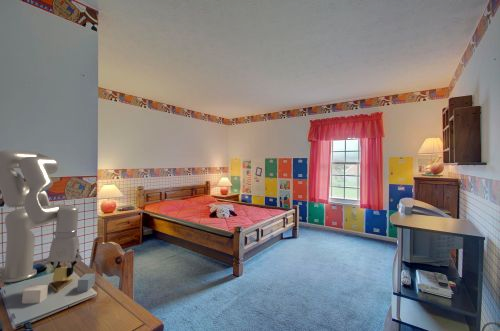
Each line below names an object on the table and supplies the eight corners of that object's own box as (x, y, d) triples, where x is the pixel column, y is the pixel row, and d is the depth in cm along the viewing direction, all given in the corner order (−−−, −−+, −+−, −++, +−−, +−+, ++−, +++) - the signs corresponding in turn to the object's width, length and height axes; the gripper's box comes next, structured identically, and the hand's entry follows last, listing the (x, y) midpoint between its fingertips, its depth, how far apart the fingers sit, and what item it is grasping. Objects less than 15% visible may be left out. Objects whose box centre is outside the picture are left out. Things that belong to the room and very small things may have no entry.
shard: (57, 294, 98) (57, 289, 98) (37, 294, 97) (37, 289, 97) (73, 281, 108) (73, 277, 108) (55, 281, 108) (56, 277, 108)
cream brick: (22, 303, 89) (23, 290, 89) (30, 297, 93) (31, 285, 93) (39, 303, 90) (40, 290, 90) (47, 297, 94) (47, 285, 94)
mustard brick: (62, 280, 100) (65, 268, 102) (52, 280, 100) (55, 268, 101) (70, 278, 106) (73, 267, 108) (60, 279, 105) (63, 267, 107)
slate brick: (87, 291, 100) (88, 279, 100) (77, 291, 100) (78, 279, 100) (94, 284, 106) (95, 273, 106) (84, 284, 105) (85, 273, 106)
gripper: (39, 236, 100) (36, 280, 99) (82, 237, 102) (79, 279, 102) (51, 232, 107) (48, 272, 107) (91, 232, 110) (88, 271, 109)
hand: (63, 275), depth 104 cm, fingers closed on mustard brick, 4 cm apart
